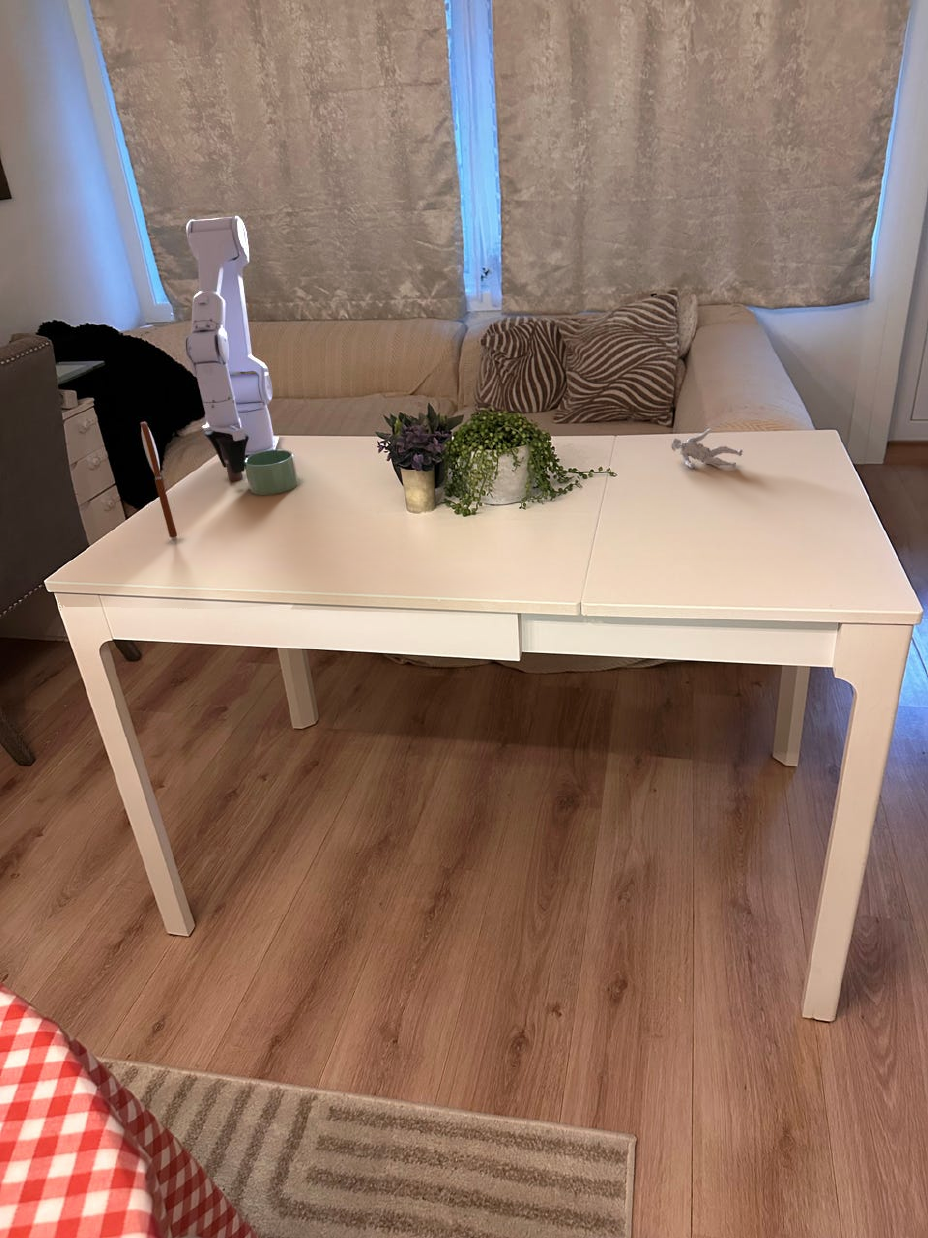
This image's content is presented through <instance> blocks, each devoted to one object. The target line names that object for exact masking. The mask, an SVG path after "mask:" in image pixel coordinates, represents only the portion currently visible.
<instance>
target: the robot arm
mask: <svg viewBox="0 0 928 1238" xmlns="http://www.w3.org/2000/svg"><path fill="white" fill-rule="evenodd" d="M186 238H187V239H186V240H187V242H188V246H189V249H190V251H191V252H192V254H193V256H194V258H195V259H196V261H197V267H198V268H197V269H198V270H197V271H198V286H199V287H198V289H199V290H198V291H199V292H198V293H196V294H195V295H194V296H193V298H192V309H191V330H190V333H189V335H187V336H186V337H185V340H184V347H185V348H184V349H185V355H186V358H187V361H188V363H189V364H190V367H191V368H192V373H193V375H194V377H196V378H197V383H198V388H199V390H200V391H199V392H200V396H201V401H202V405H203V409H204V413H205V414H204V418H205V423H206V424H203V425H201V429H202V431H204V435H205V437H206V438H207V439H208V441H209V442H210V443H211V446H212V447H213V448H214V450H215V452H216V454H217V456H218V459H219V461H220V463H221V465H222V467H223V468H226V464H225V462H224V459H223V458H222V453H221V449H220V446H221V448H222V449H223V451H224V453H225V455H226V457H227V460H228V463H229V466H230V468H231V470H232V472H233V473H234V474H236V473H240V472H242V473H243V472H245V465H244V460H245V458H246V456H250V455H252V454H255V453H258V452H262V451H267V450H277V449H276V448H277V445H278V442H279V439H280V436H274V431H273V426H272V420H271V415H270V410H269V409H268V405H269V404H270V403H271V401H272V399H273V385H272V380H271V378H270V373H269V367H268V366H267V365H266V364H265V363H264V362H263V361H261V360H260V359H258V358H257V357H255V356H254V355H253V352H252V344H251V336H250V328H249V319H248V313H247V312H248V311H247V304H246V296H245V288H244V280H243V268H244V267H245V266H247V265H248V264H249V263H250V252H249V251H250V250H249V243H248V236H247V230H246V227H245V225H244V222H243V220H242V219H241V218H240V217H239V216H238V215H233V216H227V217H217V218H207V219H197V220H196V219H190V220H189V221H188V223H187V224H186ZM242 372H248V373H242ZM249 372H250V373H249ZM251 372H252V373H251ZM235 373H237V374H235ZM226 469H227V468H226Z"/></svg>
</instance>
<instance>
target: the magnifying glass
mask: <svg viewBox="0 0 928 1238" xmlns="http://www.w3.org/2000/svg"><path fill="white" fill-rule="evenodd" d="M140 427H141V439H142V444H143V449H144V452H145V456H146V458H147V459H146V460H147V462H148V464H149V467H150V468H151V471H152V472H153V476H154V477H155V478H154V484H155V486H156V490H157V494H158V498H159V501H160V506H161V509H162V513H163V517H164V520H165V524H166V529H167V532H168V536H169V538H171V541H172V542H176V541H177V540H178V539H177V537H178V533H177V529H176V525H175V521H174V517H173V514H172V510H171V505H170V502H169V498H168V495H167V491H166V487H165V483H164V479H163V477H162V476H161V466H160V458H159V453H158V450H157V446H156V443H155V439H154V436H153V434H152V432H151V430H150V428H149V426H148V422H146V421H142V422H140Z"/></svg>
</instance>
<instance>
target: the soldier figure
mask: <svg viewBox="0 0 928 1238" xmlns="http://www.w3.org/2000/svg"><path fill="white" fill-rule="evenodd" d="M713 430H714V429H713V428H708V429H706V430H705V431H704V432H703V433H701V434H699V435H698V436H695V437H691V438H688V439H687V440H686V441H685V442H682V440H680V439H678V438H673V440H672V442H671V445H670V446H671V450H672V451H673V452H674V453H675V451H676V450H679V449H681V450H680V455H681V457H682V459H683V461H684V463H685V465H686V466H687V467H688V468H691V469H694V467H695V463H693V462H692V461H691V459H690V457H691V458H692V459H693V460H697V461H700V462H701V463H703V464H707V465H714V466H718V467H721V466H723V467H731V468H734V469H735V468H736V467H737V462H729V461H726V460H723V459H721V458H719V457H717V456H718V455H722V454H730V455H737V456H738V457H742V455H743V452H744V450H743V449H740V450H737V449H733V448H731V447H729V446H727V445H719V446H716V447H715V446H714V447H712V448H711V449H710V447H707V446H704V444H703V443H700V442H701V441H703V440H704V439H705V438H706V436H708V434H710V431H713Z"/></svg>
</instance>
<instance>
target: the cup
mask: <svg viewBox="0 0 928 1238" xmlns="http://www.w3.org/2000/svg"><path fill="white" fill-rule="evenodd" d="M295 462H296V461H295V456H294V453H293V452H292V451H290V450H287V449H275V450H267V451H262V452H258V453H255V454H252V455H247V457H245V460H244V465H245V468H244V471H245V475H246V479H247V483H248V488H249V491H250V492H251V493H253V494H255V495H258V496H259V495H260V496H270V495H277V494H278V495H279V494H282V493H285V492H289V491H290V490H292V489H295V488H296V487H297V486H298V484H299V480H298V473H297V472H298V471H297V467H296V463H295Z"/></svg>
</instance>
